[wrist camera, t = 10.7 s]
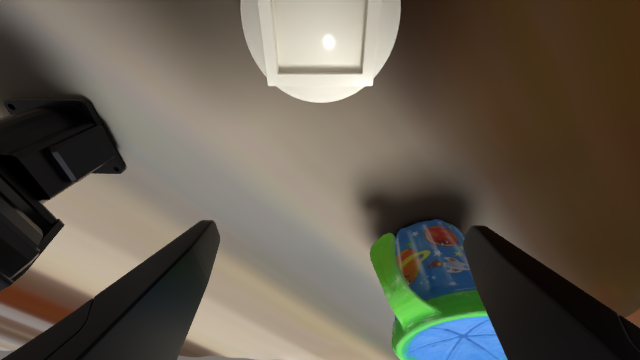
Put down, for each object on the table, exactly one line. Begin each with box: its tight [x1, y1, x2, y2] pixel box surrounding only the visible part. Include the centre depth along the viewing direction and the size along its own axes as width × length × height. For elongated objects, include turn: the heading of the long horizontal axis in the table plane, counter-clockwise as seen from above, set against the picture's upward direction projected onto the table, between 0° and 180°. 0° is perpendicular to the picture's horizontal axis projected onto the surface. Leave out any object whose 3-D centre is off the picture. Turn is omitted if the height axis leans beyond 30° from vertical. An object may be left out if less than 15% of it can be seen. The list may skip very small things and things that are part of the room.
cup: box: [241, 0, 401, 103], centre depth 13 cm, size 8×8×4 cm
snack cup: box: [370, 219, 507, 360], centre depth 22 cm, size 16×10×10 cm
